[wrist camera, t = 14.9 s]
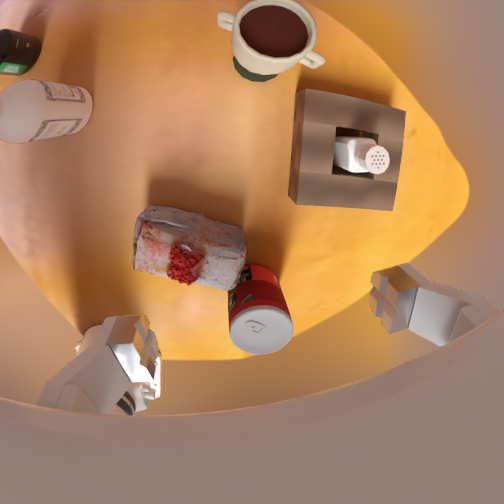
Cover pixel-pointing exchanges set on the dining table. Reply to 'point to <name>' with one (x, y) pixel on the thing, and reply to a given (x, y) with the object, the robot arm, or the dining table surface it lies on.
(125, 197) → the dining table surface
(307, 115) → the socket
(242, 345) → the canned food
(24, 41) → the supplement bottle
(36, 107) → the bath foam
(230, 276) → the food item
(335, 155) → the pepper shaker
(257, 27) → the character mug
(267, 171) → the dining table surface
